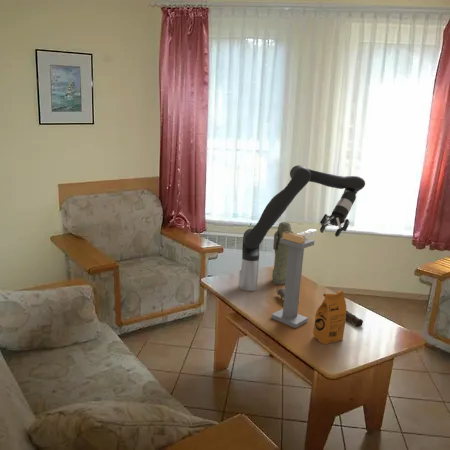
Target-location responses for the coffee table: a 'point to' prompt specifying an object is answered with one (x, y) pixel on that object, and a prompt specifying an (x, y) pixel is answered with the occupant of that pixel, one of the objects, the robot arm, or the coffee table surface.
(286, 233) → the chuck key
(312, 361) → the coffee table surface
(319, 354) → the coffee table surface
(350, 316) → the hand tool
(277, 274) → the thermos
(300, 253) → the headphone stand
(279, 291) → the rhino figurine
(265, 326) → the coffee table surface
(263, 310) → the coffee table surface
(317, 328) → the coffee package
